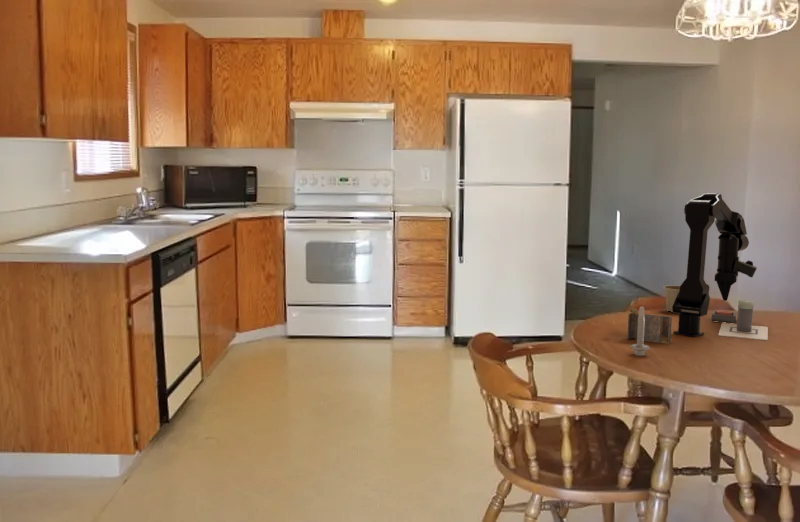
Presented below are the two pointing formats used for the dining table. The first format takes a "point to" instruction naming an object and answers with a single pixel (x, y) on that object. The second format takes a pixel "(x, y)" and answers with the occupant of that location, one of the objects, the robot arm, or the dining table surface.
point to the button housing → (723, 317)
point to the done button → (724, 312)
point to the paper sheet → (755, 333)
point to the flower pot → (671, 295)
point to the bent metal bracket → (650, 327)
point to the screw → (640, 335)
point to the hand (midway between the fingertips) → (725, 300)
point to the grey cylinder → (745, 315)
